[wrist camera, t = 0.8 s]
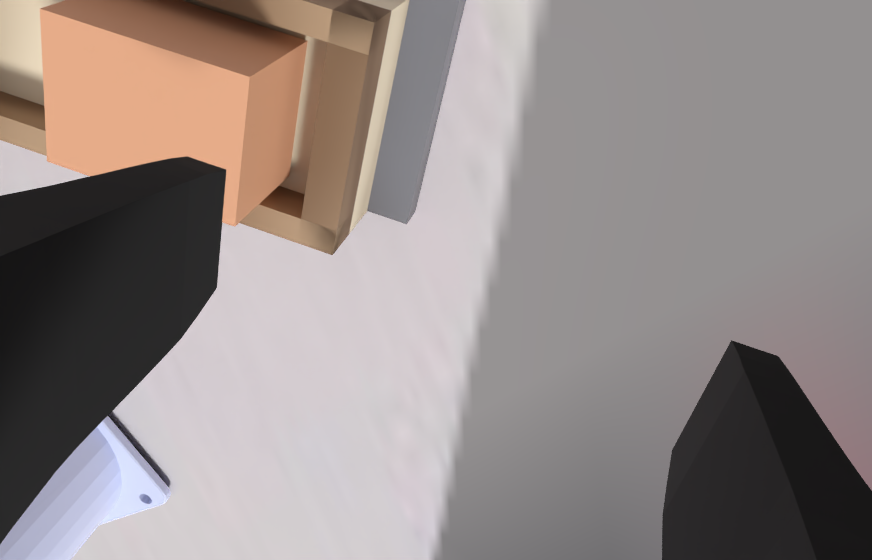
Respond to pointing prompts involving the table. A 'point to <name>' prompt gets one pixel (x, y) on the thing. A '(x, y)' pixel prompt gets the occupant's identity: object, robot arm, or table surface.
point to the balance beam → (305, 104)
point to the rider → (170, 92)
